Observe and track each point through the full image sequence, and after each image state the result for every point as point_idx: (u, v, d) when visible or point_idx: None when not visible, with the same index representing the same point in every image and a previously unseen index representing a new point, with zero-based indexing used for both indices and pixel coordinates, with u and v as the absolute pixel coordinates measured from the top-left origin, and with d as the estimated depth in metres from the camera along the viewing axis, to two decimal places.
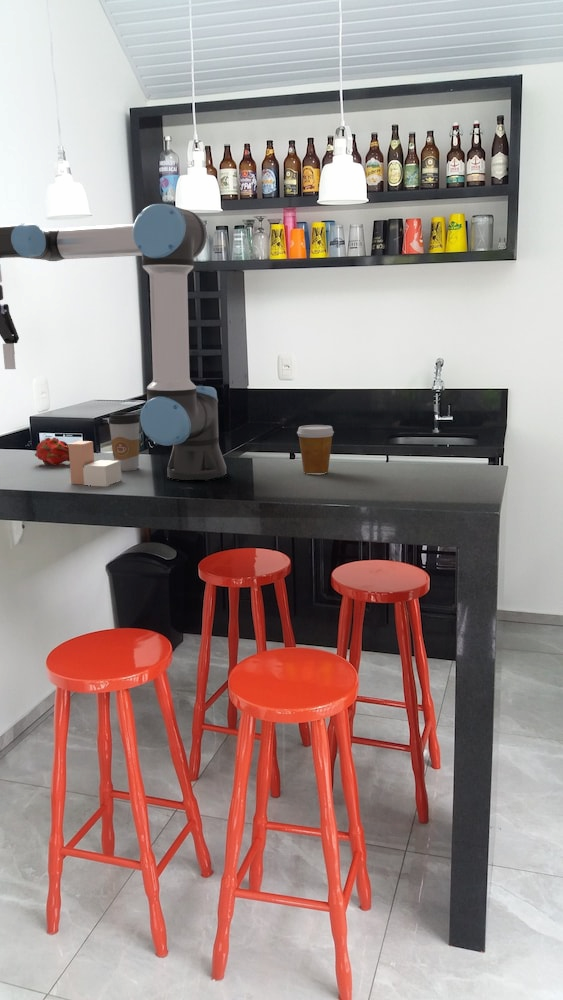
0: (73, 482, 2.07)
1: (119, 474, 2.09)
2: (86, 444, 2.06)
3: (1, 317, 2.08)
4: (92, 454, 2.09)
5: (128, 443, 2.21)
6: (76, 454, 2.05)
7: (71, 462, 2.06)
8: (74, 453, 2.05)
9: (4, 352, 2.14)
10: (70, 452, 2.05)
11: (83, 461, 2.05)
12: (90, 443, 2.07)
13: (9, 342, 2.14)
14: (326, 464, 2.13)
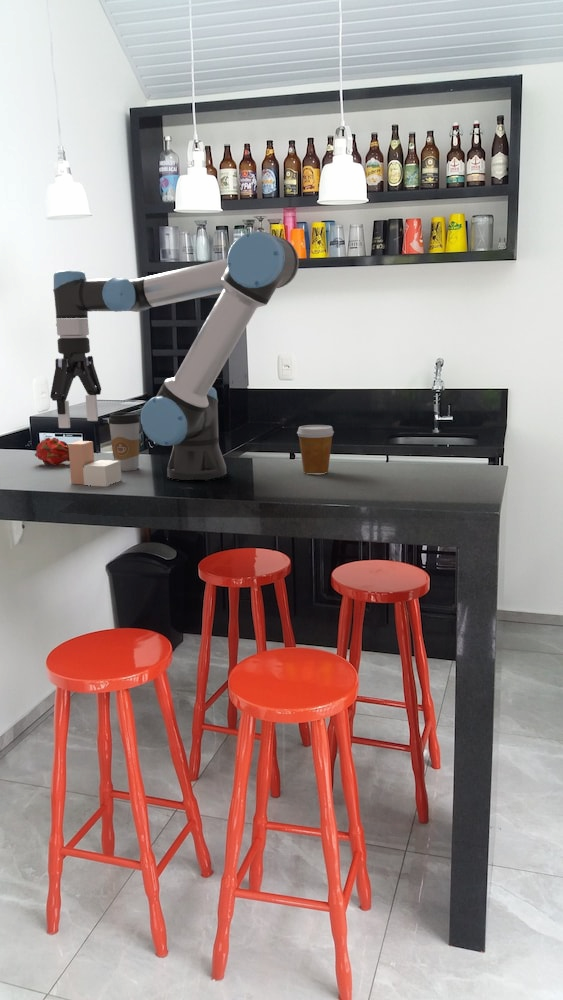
0: (73, 482, 2.07)
1: (119, 474, 2.09)
2: (86, 444, 2.06)
3: (87, 370, 2.05)
4: (92, 454, 2.09)
5: (128, 443, 2.21)
6: (76, 454, 2.05)
7: (71, 462, 2.06)
8: (74, 453, 2.05)
9: (87, 404, 2.11)
10: (70, 452, 2.05)
11: (83, 461, 2.05)
12: (90, 443, 2.07)
13: (92, 393, 2.11)
14: (326, 464, 2.13)
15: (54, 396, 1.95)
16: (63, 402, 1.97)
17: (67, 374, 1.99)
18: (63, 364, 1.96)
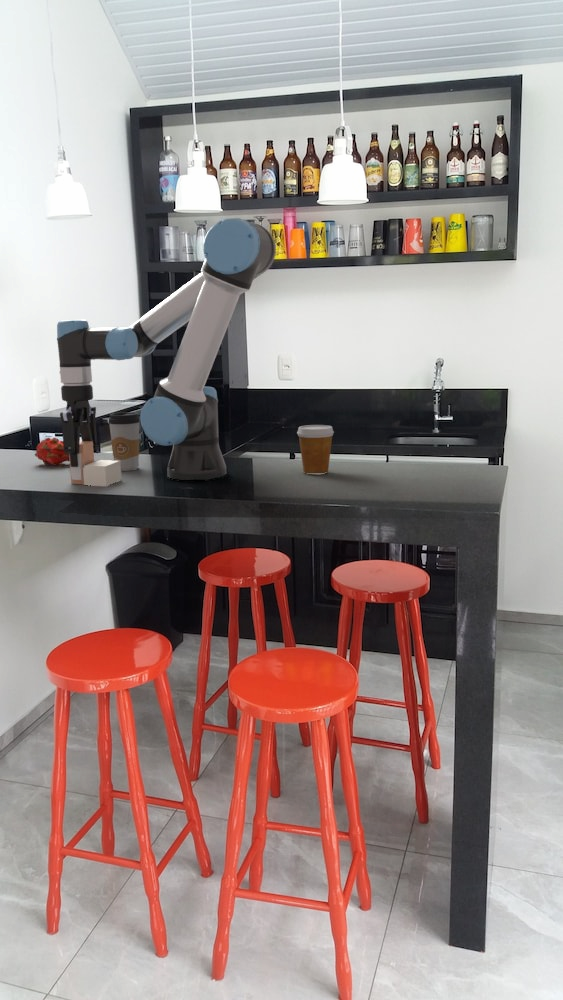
0: (73, 482, 2.07)
1: (119, 474, 2.09)
2: (86, 444, 2.06)
3: (88, 418, 2.07)
4: (92, 454, 2.09)
5: (128, 443, 2.21)
6: None
7: None
8: None
9: None
10: None
11: (83, 461, 2.05)
12: (90, 443, 2.07)
13: None
14: (326, 464, 2.13)
15: (67, 451, 2.01)
16: (76, 455, 2.04)
17: (74, 424, 2.03)
18: (68, 419, 1.99)
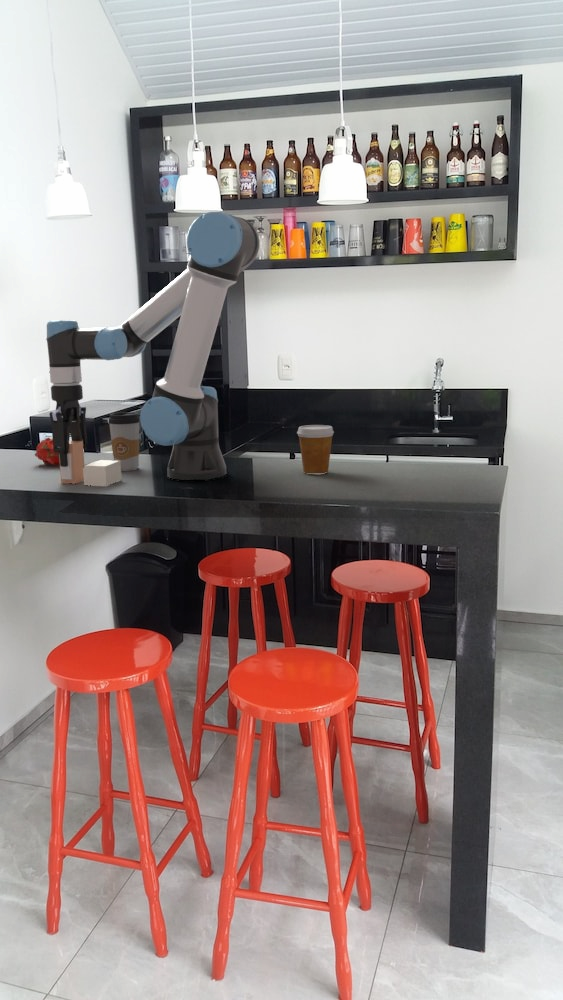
0: (63, 482, 2.08)
1: (119, 474, 2.09)
2: (76, 444, 2.06)
3: (78, 417, 2.07)
4: (82, 453, 2.10)
5: (128, 443, 2.21)
6: None
7: None
8: None
9: None
10: None
11: (73, 460, 2.06)
12: (80, 443, 2.08)
13: None
14: (326, 464, 2.13)
15: (57, 451, 2.02)
16: (65, 455, 2.04)
17: (63, 424, 2.04)
18: (58, 418, 2.00)
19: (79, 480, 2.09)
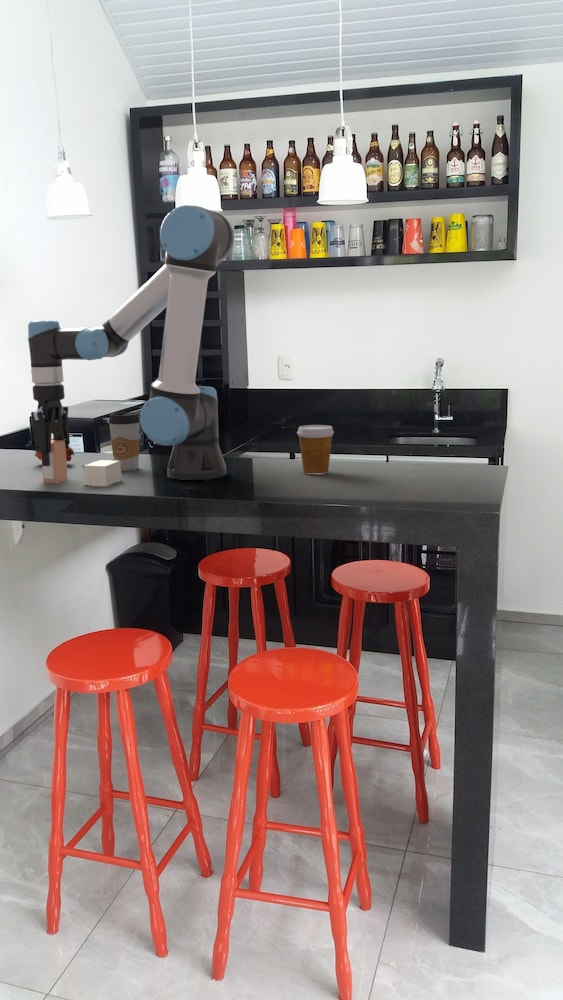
0: (45, 481, 2.09)
1: (119, 474, 2.09)
2: (58, 443, 2.08)
3: (60, 417, 2.09)
4: (64, 453, 2.11)
5: (128, 443, 2.21)
6: None
7: None
8: None
9: None
10: None
11: (55, 460, 2.07)
12: (62, 442, 2.10)
13: None
14: (326, 464, 2.13)
15: (39, 450, 2.04)
16: (47, 454, 2.06)
17: (45, 424, 2.05)
18: (39, 418, 2.01)
19: (61, 479, 2.10)
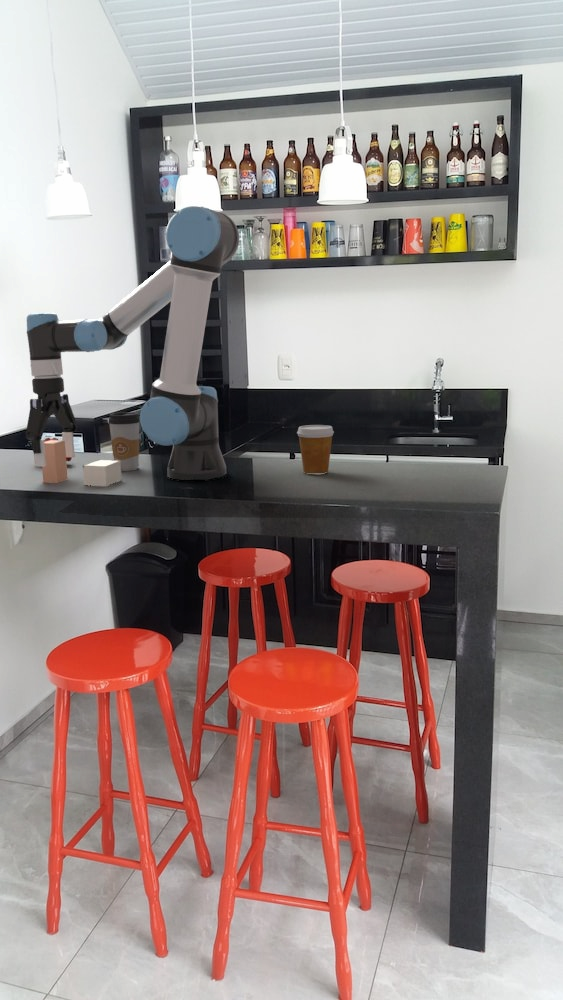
0: (45, 481, 2.09)
1: (119, 474, 2.09)
2: (58, 443, 2.08)
3: (62, 408, 2.09)
4: (64, 453, 2.11)
5: (128, 443, 2.21)
6: (47, 453, 2.07)
7: None
8: (46, 452, 2.07)
9: (63, 440, 2.15)
10: None
11: (55, 460, 2.07)
12: (62, 442, 2.10)
13: (68, 431, 2.15)
14: (326, 464, 2.13)
15: (29, 436, 1.99)
16: (38, 441, 2.01)
17: (42, 414, 2.04)
18: (37, 404, 2.00)
19: (61, 479, 2.10)
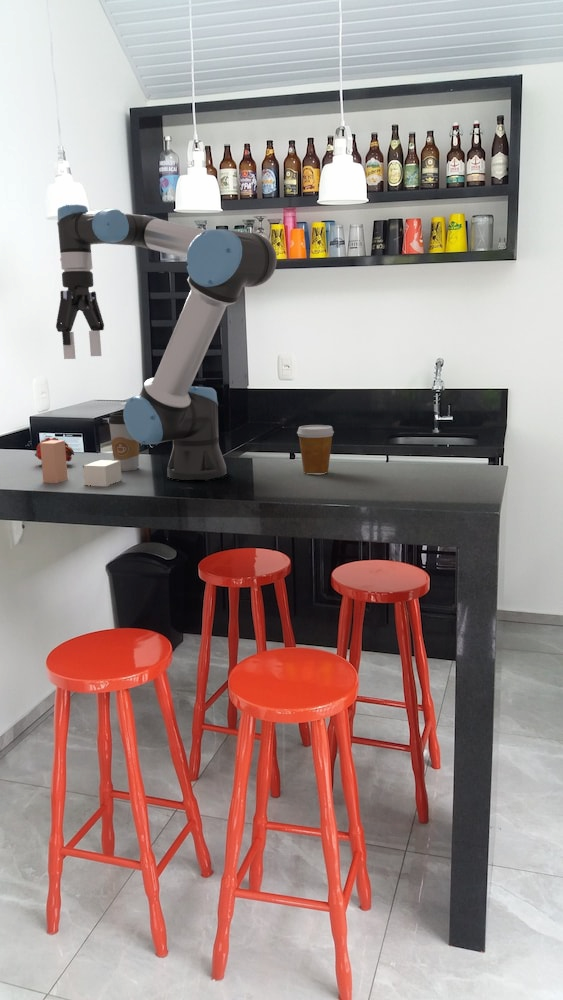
0: (45, 481, 2.09)
1: (119, 474, 2.09)
2: (58, 443, 2.08)
3: (90, 304, 2.10)
4: (64, 453, 2.11)
5: (128, 443, 2.21)
6: (47, 453, 2.07)
7: (42, 460, 2.08)
8: (46, 452, 2.07)
9: (90, 339, 2.16)
10: (42, 451, 2.08)
11: (55, 460, 2.07)
12: (62, 442, 2.10)
13: (95, 329, 2.16)
14: (326, 464, 2.13)
15: (60, 326, 2.00)
16: (68, 333, 2.02)
17: (72, 306, 2.05)
18: (68, 295, 2.01)
19: (61, 479, 2.10)
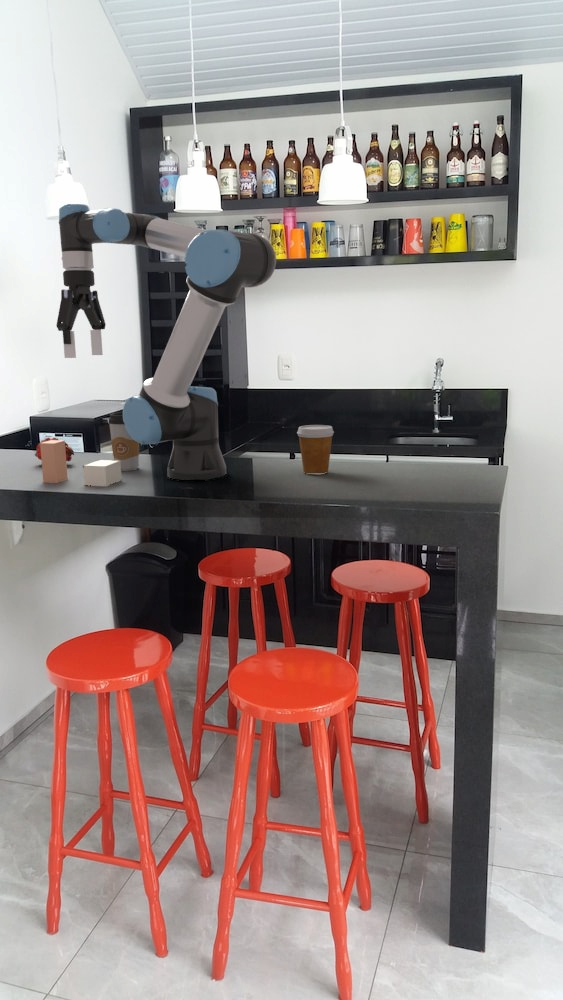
0: (45, 481, 2.09)
1: (119, 474, 2.09)
2: (58, 443, 2.08)
3: (91, 303, 2.10)
4: (64, 453, 2.11)
5: (128, 443, 2.21)
6: (47, 453, 2.07)
7: (42, 460, 2.08)
8: (46, 452, 2.07)
9: (92, 338, 2.17)
10: (42, 451, 2.08)
11: (55, 460, 2.07)
12: (62, 442, 2.10)
13: (97, 328, 2.17)
14: (326, 464, 2.13)
15: (60, 325, 2.00)
16: (69, 332, 2.03)
17: (72, 305, 2.05)
18: (69, 295, 2.01)
19: (61, 479, 2.10)
